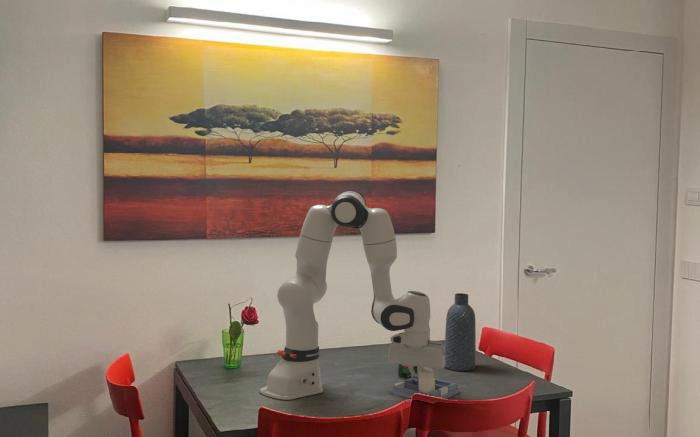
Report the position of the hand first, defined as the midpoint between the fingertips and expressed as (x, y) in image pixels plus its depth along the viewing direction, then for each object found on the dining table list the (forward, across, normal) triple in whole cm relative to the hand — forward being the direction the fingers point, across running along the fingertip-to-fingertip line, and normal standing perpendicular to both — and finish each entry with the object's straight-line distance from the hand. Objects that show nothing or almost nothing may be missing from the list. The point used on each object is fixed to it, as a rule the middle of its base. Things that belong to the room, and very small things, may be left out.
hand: (416, 378), depth 267 cm
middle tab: (+3, -4, +1) cm, 5 cm away
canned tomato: (+4, +9, -14) cm, 17 cm away
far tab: (+3, -1, -5) cm, 6 cm away
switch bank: (+4, -4, +1) cm, 6 cm away
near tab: (+3, -7, +7) cm, 10 cm away
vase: (+4, -2, -36) cm, 37 cm away
